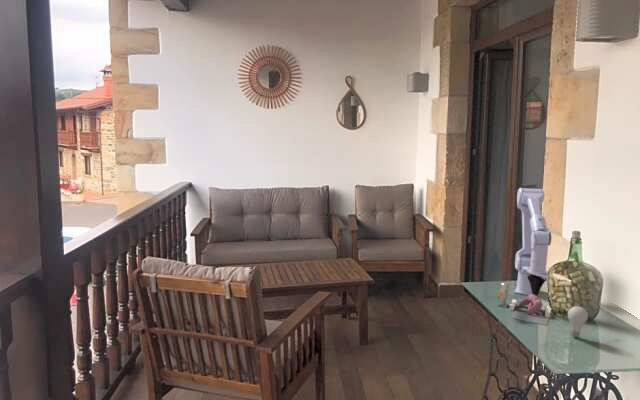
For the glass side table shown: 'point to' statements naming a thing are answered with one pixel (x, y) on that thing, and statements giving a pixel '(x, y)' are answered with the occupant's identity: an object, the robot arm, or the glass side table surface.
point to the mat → (530, 317)
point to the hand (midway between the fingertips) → (535, 293)
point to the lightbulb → (577, 319)
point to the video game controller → (531, 303)
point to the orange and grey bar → (503, 289)
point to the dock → (504, 304)
